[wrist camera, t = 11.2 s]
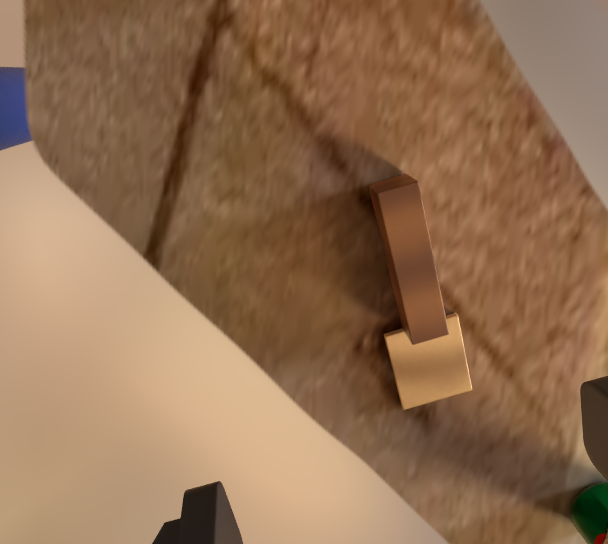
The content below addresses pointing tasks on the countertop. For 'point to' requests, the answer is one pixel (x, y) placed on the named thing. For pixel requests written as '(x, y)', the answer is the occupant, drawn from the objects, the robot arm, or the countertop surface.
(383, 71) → the countertop surface
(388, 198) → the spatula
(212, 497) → the robot arm
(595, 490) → the soda can
